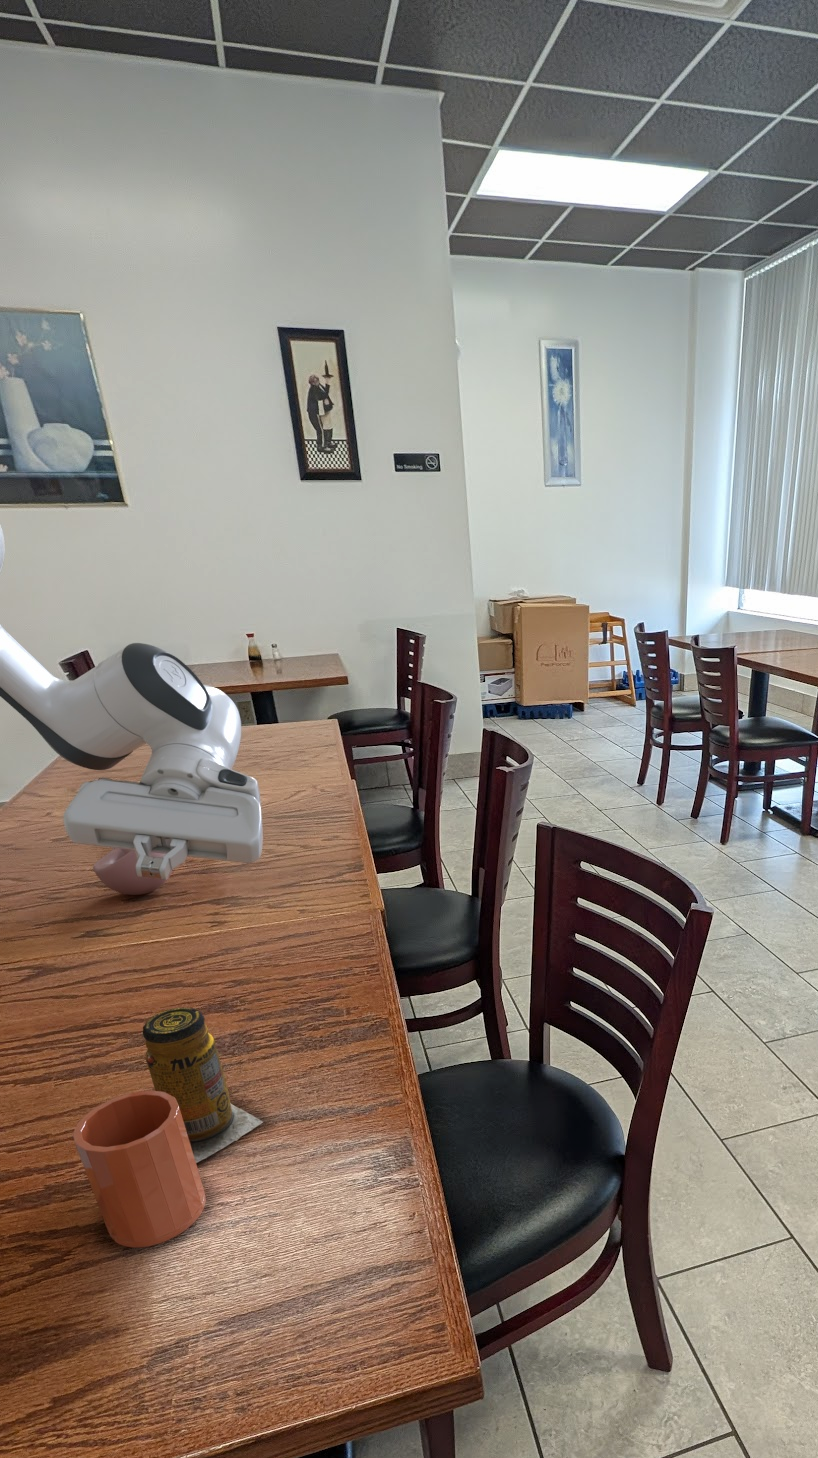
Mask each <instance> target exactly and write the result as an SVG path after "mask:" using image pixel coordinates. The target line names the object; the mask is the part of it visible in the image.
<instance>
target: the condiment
mask: <svg viewBox="0 0 818 1458" xmlns="http://www.w3.org/2000/svg"><path fill="white" fill-rule="evenodd" d="M142 1036H143V1039H144V1043H145V1047H146V1049H147V1050H146V1052H145V1063H146V1064H147V1067H148V1071H149V1074H150V1079H151V1081H152V1084H153V1088H154V1091H161V1092H165V1093H167V1094H169V1095H171V1096H173V1097H175V1098H176V1101H177V1103H178V1105H179V1108H180V1111H181V1115H182V1118H183V1121H184V1125H185V1128H186V1131H187V1135H188V1138H189V1141H190V1145H191V1148H192V1151H193V1155H194V1158H195V1161H196V1164H197V1163H199V1162H201V1161H203V1160H205V1159H208V1158H209V1157H210V1156H212V1155H214V1154H216V1153H217V1152H219V1151H221V1150H222V1149H224V1148H226V1147H228V1146H229V1145H230V1144H232V1143H234V1142H237V1141H238V1140H239V1139H240V1138H241V1137H242V1136H245V1135H246V1134H248V1133H249V1132H251V1131H253V1130H254V1129H256V1128H257V1127H259V1126H260V1125H262V1124H263V1123H264V1121H263V1120H261V1119H259V1118H258V1117H256V1116H254V1115H253V1114H251V1113H248V1112H247V1111H246V1110H244V1109H242V1108H239V1107H238V1106H235V1105H234V1104H232V1103H231V1097H230V1093H229V1092H230V1091H229V1089H228V1084H227V1078H226V1076H225V1074H224V1069H223V1067H222V1062H221V1058H220V1052H219V1051H218V1048H217V1044H216V1041H215V1038H214V1037H213V1035H212V1034H211V1033H209V1029H208V1025H206V1021H205V1016H204V1015H203V1013H202V1012H201V1011H200V1010H199V1009H196V1008H193V1007H184V1006H183V1007H175V1008H171V1009H166V1010H163V1011H161V1012H158V1013H157V1014H154V1015H152V1016H151V1017H150V1018H149V1019H148V1020H146V1021H145V1023H144V1025H143V1027H142Z"/></svg>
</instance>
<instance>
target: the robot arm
mask: <svg viewBox="0 0 818 1458" xmlns="http://www.w3.org/2000/svg"><path fill="white" fill-rule="evenodd" d="M4 536H5V535H4V530H3V528H2V525H1V523H0V573H1V572H2V569H3V565H4V561H5V554H6V544H5V543H6V541H5V537H4ZM0 698H2V700H4V701H5V702H6V703H7V704H8V705H10V707H12V708H13V709H14V710H15V711H16V712H18V713H19V714H20V715H21V716H22V717H23V718H24V719H25V720H26V721H27V722H28V723H29V724H30V725H31V726H32V727H33V728H34V729H35V730H36V731H37V733H38V734H39V735H40V737H42V738H43V740H44V742H46V743H47V745H48V746H49V747H50V748H51V749H52V750H53V751H54V752H55V753H56V754H57V755H58V756H60V757H61V758H63V760H66V761H67V762H69V763H71V764H72V765H73V764H74V765H76V766H79V767H81V768H84V769H87V770H93V771H106V770H110V769H112V768H113V767H115V766H116V765H118V764H119V763H120V762H121V761H123V760H124V759H126V758H127V757H129V755H131V754H132V753H133V752H134V751H136V750H137V749H139V748H140V747H142V746H144V745H146V744H147V745H148V746H149V748H150V751H151V755H150V757H149V759H148V761H147V764H146V765H145V768H144V771H143V773H142V776H141V777H140V780H139V781H131V780H118V779H117V780H116V779H112V778H108V777H99V778H98V779H96V780H91V781H85V782H82V784H81V785H80V787H79V789H78V791H77V793H76V795H75V796H74V797H73V798H72V800H71V801H70V803H69V804H68V806H66V809H64V812H63V814H62V821H63V826H64V829H65V832H66V834H67V836H68V837H69V839H70V841H71V842H73V843H74V844H78V845H86V846H93V847H95V846H96V847H102V848H103V847H104V848H112V849H114V848H120V849H128V850H135V852H136V856H137V858H138V861H137V863H136V873H137V876H138V877H147V878H156V879H164V880H167V881H168V880H169V878H168V876H169V873H170V870H172V869H173V870H174V869H175V868H177V867H179V866H180V865H182V864H183V863H185V862H186V860H187V857H189V858H198V859H204V860H205V859H207V860H216V861H221V862H223V861H224V862H232V863H240V864H248V865H249V864H250V865H251V864H253V863H255V862H257V861H259V860H260V859H261V856H262V851H263V844H264V830H263V816H262V815H263V814H262V800H261V792H260V787H259V784H258V783H259V782H258V780H257V779H256V778H255V777H252V776H250V775H248V774H244V773H241V772H240V771H239V772H238V771H237V770H234V769H233V768H234V766H235V763H236V759H237V756H238V754H239V751H240V750H239V749H240V745H241V741H242V721H241V716H240V711H239V709H238V707H237V705H236V704H235V702H234V701H233V700H232V698H230V697H229V696H228V695H227V694H226V692H224V691H222V690H221V689H219V688H217V687H215V686H211V685H208V684H203V682H202V681H201V679H199V677H198V676H197V675H196V673H195V672H194V671H193V670H192V669H191V668H190V667H189V666H188V665H187V664H185V663H184V662H183V661H182V660H180V659H179V657H177V656H175V655H173V654H172V653H170V652H169V651H166V650H164V649H162V648H160V647H159V646H155V645H152V644H147V643H142V642H133V643H129V644H128V645H126V646H125V647H123V648H121V649H119V650H118V651H116V652H114V653H113V654H112V655H110V656H108V657H107V658H105V659H104V660H102V661H100V662H99V663H98V665H96V666H94V667H93V668H91V669H89V670H88V671H87V672H85V673H84V674H82V675H80V676H78V677H77V678H76V679H73V680H65V679H61V678H58V677H56V676H54V675H53V674H52V673H51V672H50V671H49V670H47V669H46V668H45V666H43V664H41V663H40V662H39V661H38V660H37V659H36V658H35V657H34V656H33V655H32V654H31V653H30V652H29V651H28V650H26V649H25V647H24V646H22V645H21V644H20V643H19V642H18V641H17V640H16V639H15V638H14V637H13V636H12V635H11V634H10V633H9V632H8V631H7V630H6V629H5V628H4V627H3V626H2V624H0ZM151 852H154V853H162V854H166V855H165V856H163V857H162V858H161V857H152V856H150V855H151ZM173 870H172V871H173Z"/></svg>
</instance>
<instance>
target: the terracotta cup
mask: <svg viewBox="0 0 818 1458" xmlns="http://www.w3.org/2000/svg"><path fill="white" fill-rule="evenodd" d="M75 1126H76V1127H75V1128H74V1130H73V1132H72V1137H73V1142H74V1145H75V1148H76V1150H77V1153H78V1156H79V1158H80V1161H81V1164H82V1166H83V1169H84V1172H85V1174H86V1177H87V1179H88V1182H89V1185H90V1187H91V1190H92V1193H93V1195H94V1198H95V1201H96V1204H97V1206H98V1209H99V1211H100V1214H101V1217H102V1219H103V1222H104V1224H105V1227H106V1230H107V1232H108V1234H109V1237H110V1238H111V1239H112V1241H114V1242H115V1243H117V1245H120V1246H123V1247H125V1248H126V1247H127V1248H134V1249H135V1248H147V1247H152V1246H156V1245H159V1244H162V1243H165V1242H167V1241H169V1240H171V1239H173V1238H175V1237H177V1236H179V1235H181V1234H182V1233H183V1232H185V1231H187V1229H189V1228H190V1227H191V1226H192V1225H194V1224H195V1223H196V1221H197V1220H198V1219H199V1218H200V1216H201V1215H202V1213H203V1211H204V1209H205V1206H206V1201H207V1200H206V1192H205V1188H204V1185H203V1182H202V1178H201V1175H200V1171H199V1168H198V1165H197V1163H196V1161H195V1158H194V1155H193V1151H192V1148H191V1145H190V1141H189V1138H188V1135H187V1131H186V1128H185V1125H184V1121H183V1118H182V1115H181V1111H180V1108H179V1105H178V1103H177V1101H176V1098H175V1097H173V1096H171V1095H169V1094H167V1093H165V1092H161V1091H155V1090H151V1089H150V1090H149V1089H148V1090H140V1091H134V1092H133V1091H132V1092H129V1093H125V1094H122V1095H119V1096H116V1097H113V1098H111V1099H108V1100H106V1101H104V1102H103V1103H101V1104H99V1105H98V1106H96V1107H93V1108H92V1109H91V1110H89V1111H88V1113H86V1114H85V1115H84V1116H83V1117H82V1118H81V1119H80V1120H79V1121H78V1122H77V1124H76V1125H75Z"/></svg>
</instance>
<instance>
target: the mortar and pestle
mask: <svg viewBox="0 0 818 1458" xmlns="http://www.w3.org/2000/svg"><path fill="white" fill-rule="evenodd" d="M165 855H166V854H162V853H154V852H151V855H150V856H152V857H161V858H162V857H163V856H165ZM137 861H138V858H137V856H136V852H135V850H128V849H120V848H112V849H111V850H110V851H108V853H106V854H105V855H104V856H103V857H101V858H100V859H98V861H96V862H94V864H93V865H92V869H93V872H94V873H95V875H96V877H97V878H98V879H99V880H100V882H102V883H103V885H105V886H106V887H107V888H109V889H110V890H112V891H114V892H117V893H120V894H123V895H128V896H129V895H130V896H140V895H145V894H149V893H152V892H154V891H156V890H157V889H159V888H160V887H162V886H163V885H164V884H165V883H166V882H167V881H168V879H169V878H170V877H171V875H172V872H173V870H174V869H172V870H170V873H169V876H168V879H167V880H164V879H156V878H147V877H138V876H137V873H136V863H137Z"/></svg>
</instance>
